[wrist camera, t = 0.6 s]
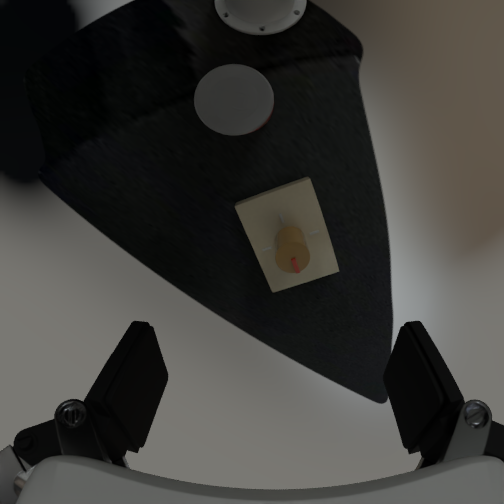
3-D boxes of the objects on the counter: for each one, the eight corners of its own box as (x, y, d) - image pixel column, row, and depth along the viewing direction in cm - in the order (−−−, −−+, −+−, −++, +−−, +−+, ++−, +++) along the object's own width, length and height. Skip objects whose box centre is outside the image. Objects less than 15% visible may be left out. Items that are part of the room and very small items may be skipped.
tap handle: (270, 232, 40) (270, 249, 34) (300, 221, 39) (304, 238, 33) (281, 258, 41) (282, 278, 36) (309, 248, 40) (314, 268, 35)
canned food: (273, 132, 36) (274, 135, 26) (215, 134, 36) (194, 137, 26) (273, 79, 32) (273, 62, 22) (214, 81, 33) (192, 66, 23)
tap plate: (236, 202, 40) (234, 206, 38) (308, 176, 38) (310, 179, 36) (272, 286, 46) (272, 293, 44) (336, 265, 43) (339, 271, 41)
